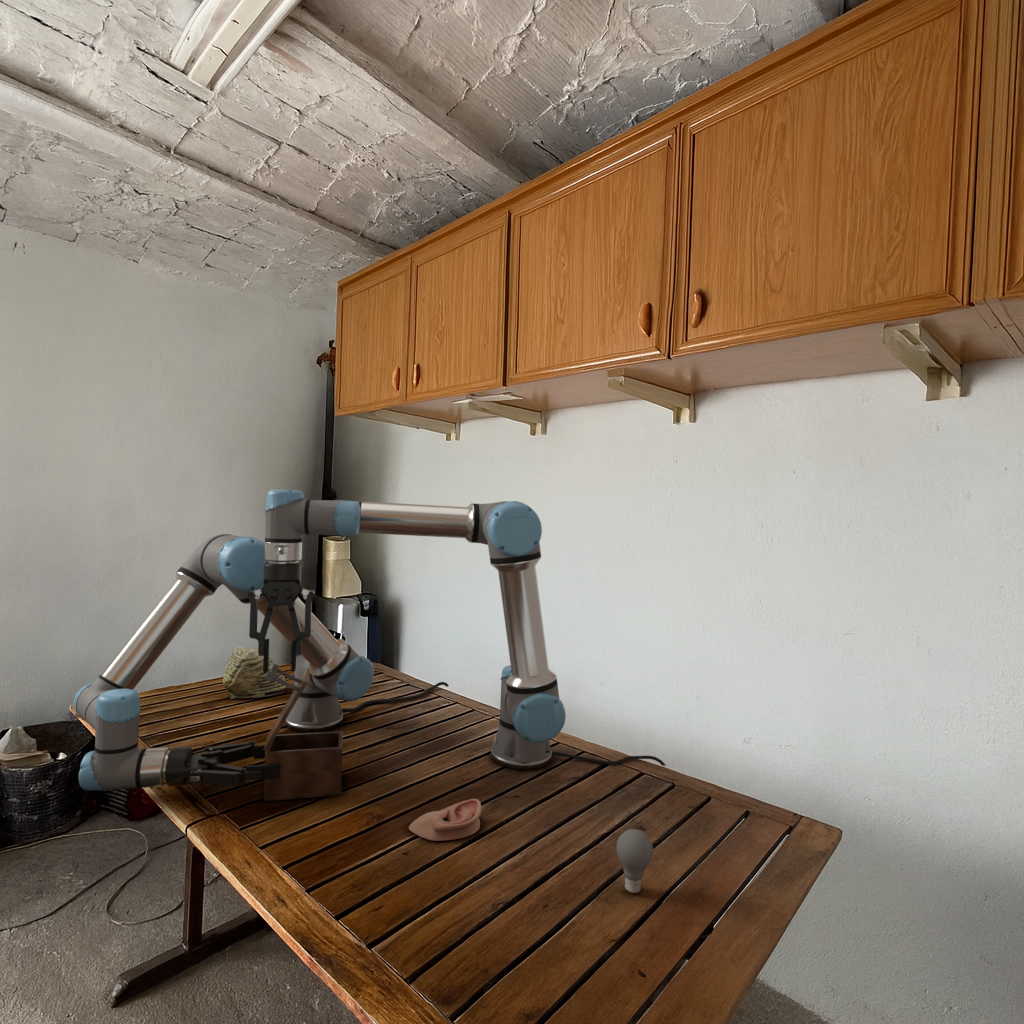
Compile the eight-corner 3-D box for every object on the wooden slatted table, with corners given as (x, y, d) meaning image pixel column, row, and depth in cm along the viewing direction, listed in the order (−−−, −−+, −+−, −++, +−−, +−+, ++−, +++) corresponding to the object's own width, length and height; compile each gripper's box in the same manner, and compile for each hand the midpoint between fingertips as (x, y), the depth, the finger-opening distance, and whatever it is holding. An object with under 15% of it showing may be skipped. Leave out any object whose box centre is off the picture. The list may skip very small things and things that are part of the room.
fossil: (218, 695, 195) (220, 647, 195) (278, 685, 208) (279, 640, 207) (228, 703, 189) (230, 653, 188) (289, 692, 201) (290, 645, 201)
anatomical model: (403, 815, 119) (423, 788, 130) (402, 836, 119) (423, 807, 131) (471, 825, 117) (486, 797, 128) (470, 847, 117) (485, 817, 128)
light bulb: (610, 879, 108) (613, 822, 108) (644, 879, 109) (647, 822, 109) (619, 902, 102) (622, 840, 102) (655, 901, 103) (658, 840, 103)
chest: (341, 774, 144) (342, 730, 144) (341, 795, 135) (342, 747, 134) (269, 780, 140) (270, 734, 140) (263, 801, 131) (265, 753, 131)
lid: (310, 669, 142) (277, 653, 140) (307, 682, 132) (272, 665, 130) (272, 733, 140) (238, 718, 138) (266, 751, 131) (230, 735, 129)
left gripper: (182, 762, 142) (287, 756, 147) (151, 811, 120) (276, 802, 125) (183, 729, 142) (288, 724, 147) (152, 771, 120) (277, 764, 125)
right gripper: (234, 563, 129) (231, 676, 130) (326, 564, 134) (322, 673, 134) (240, 559, 136) (237, 666, 137) (327, 560, 141) (324, 664, 141)
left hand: (282, 760), depth 136 cm, fingers closed on chest, 10 cm apart
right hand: (279, 670), depth 136 cm, fingers open, 5 cm apart
